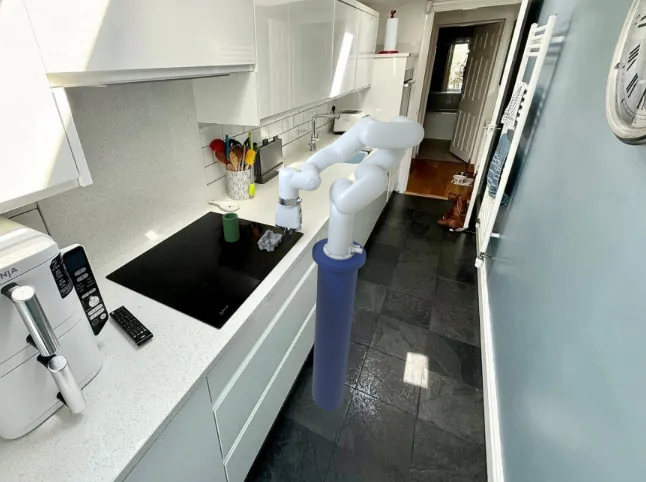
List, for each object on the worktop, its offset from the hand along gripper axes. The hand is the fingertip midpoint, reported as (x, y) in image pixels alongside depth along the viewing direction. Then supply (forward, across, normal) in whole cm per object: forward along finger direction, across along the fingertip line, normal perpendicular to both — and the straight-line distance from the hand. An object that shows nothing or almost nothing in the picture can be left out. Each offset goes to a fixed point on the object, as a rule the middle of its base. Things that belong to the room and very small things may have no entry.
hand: (288, 240), depth 125 cm
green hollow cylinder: (+4, +25, +1) cm, 26 cm away
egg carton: (+3, +8, 0) cm, 8 cm away
